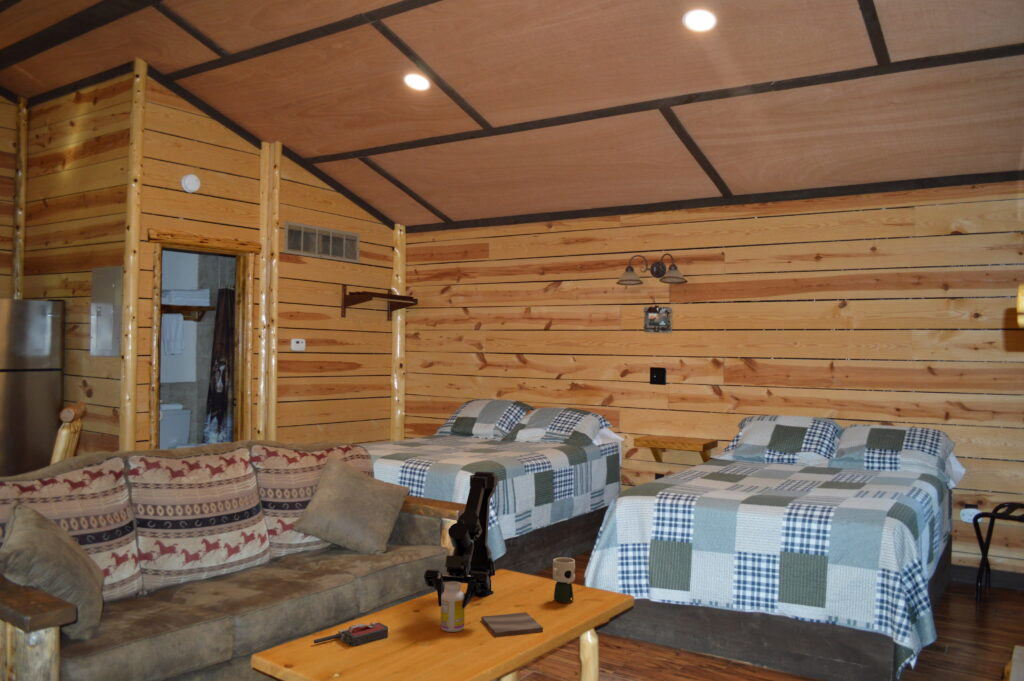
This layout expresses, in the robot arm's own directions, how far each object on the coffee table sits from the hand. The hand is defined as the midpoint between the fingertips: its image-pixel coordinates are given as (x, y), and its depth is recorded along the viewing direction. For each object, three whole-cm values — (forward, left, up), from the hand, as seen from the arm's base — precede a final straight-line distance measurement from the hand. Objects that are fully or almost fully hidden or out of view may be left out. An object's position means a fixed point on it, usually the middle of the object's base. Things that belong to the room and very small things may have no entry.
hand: (451, 606), depth 225 cm
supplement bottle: (-1, +1, -7) cm, 7 cm away
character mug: (+7, +43, -7) cm, 44 cm away
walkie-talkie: (-14, -23, -7) cm, 28 cm away
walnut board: (+10, +14, -7) cm, 19 cm away
